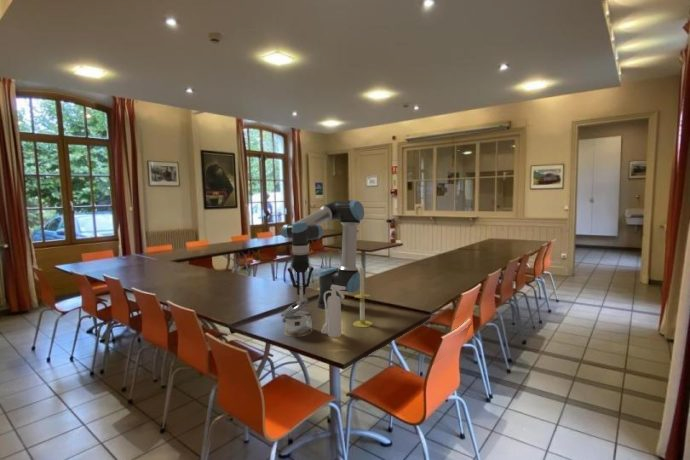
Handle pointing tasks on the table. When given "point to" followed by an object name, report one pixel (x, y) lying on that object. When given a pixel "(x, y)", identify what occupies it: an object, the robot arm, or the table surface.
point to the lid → (294, 307)
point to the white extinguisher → (333, 311)
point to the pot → (298, 323)
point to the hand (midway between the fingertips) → (301, 301)
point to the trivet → (302, 335)
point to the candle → (362, 302)
